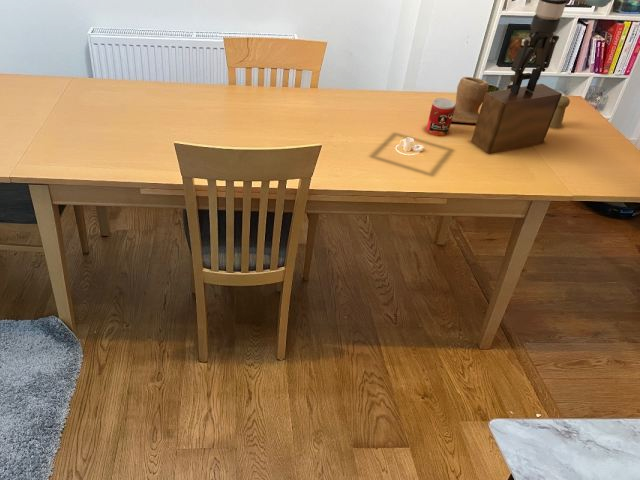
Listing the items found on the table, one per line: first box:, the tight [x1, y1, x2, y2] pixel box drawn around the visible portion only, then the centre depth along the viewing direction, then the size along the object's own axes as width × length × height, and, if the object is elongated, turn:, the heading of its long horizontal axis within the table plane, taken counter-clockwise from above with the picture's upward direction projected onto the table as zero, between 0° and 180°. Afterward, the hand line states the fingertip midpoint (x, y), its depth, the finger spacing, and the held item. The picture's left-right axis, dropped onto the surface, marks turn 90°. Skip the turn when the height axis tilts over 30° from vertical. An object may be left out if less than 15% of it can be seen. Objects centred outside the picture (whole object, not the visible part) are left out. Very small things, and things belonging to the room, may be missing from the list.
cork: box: [549, 95, 571, 129], centre depth 210 cm, size 6×6×11 cm
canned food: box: [426, 97, 456, 137], centre depth 203 cm, size 8×8×11 cm
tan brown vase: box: [451, 76, 490, 124], centre depth 210 cm, size 15×12×15 cm
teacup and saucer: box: [394, 137, 424, 156], centre depth 194 cm, size 9×8×4 cm
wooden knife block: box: [470, 72, 563, 155], centre depth 194 cm, size 23×24×9 cm
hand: (522, 91), depth 190 cm, fingers closed on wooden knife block, 6 cm apart
